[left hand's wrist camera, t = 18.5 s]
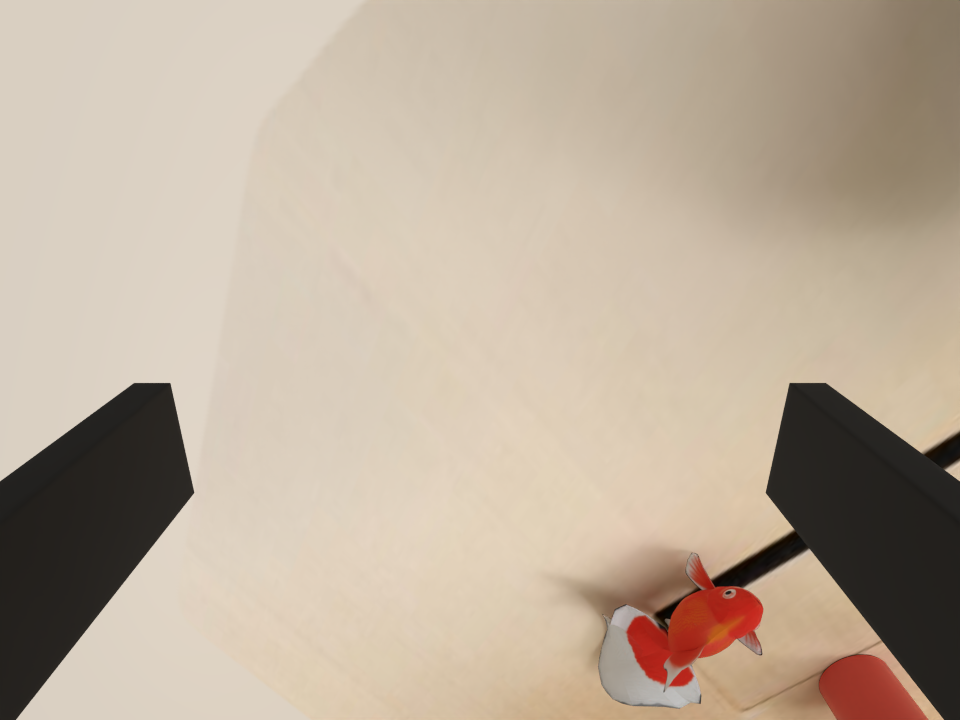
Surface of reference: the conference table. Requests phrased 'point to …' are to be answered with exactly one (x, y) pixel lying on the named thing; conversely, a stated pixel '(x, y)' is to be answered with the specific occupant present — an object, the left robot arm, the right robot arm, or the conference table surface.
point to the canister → (866, 691)
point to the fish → (675, 643)
